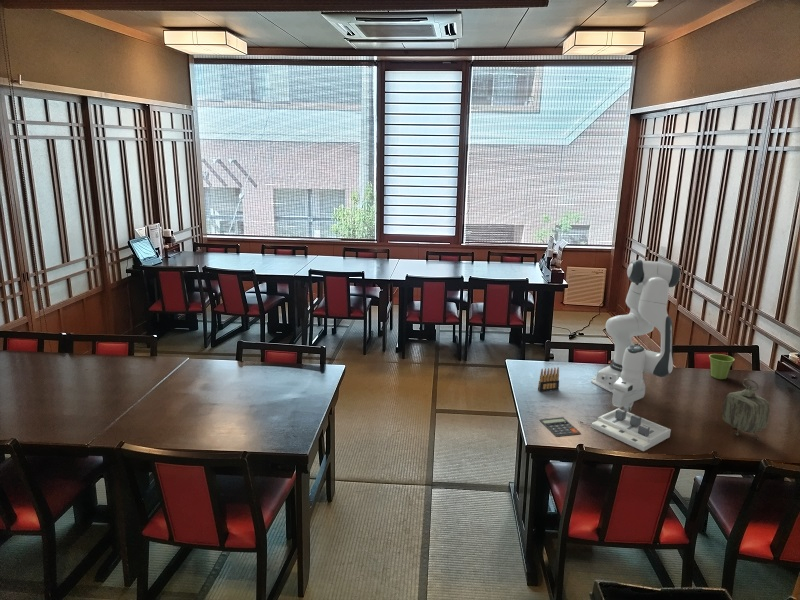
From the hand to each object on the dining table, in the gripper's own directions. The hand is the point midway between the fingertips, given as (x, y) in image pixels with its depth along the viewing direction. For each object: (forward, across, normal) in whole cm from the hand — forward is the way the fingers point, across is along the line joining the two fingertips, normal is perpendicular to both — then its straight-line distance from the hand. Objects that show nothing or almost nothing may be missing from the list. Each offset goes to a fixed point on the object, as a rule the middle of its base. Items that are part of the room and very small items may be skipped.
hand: (627, 411), depth 234 cm
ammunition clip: (+5, +2, -41) cm, 42 cm away
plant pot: (+5, -88, 0) cm, 88 cm away
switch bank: (+5, +8, +7) cm, 12 cm away
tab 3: (+2, +10, +14) cm, 17 cm away
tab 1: (+2, +5, 0) cm, 5 cm away
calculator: (+5, +29, -13) cm, 32 cm away
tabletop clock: (+5, -29, +35) cm, 45 cm away
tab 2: (+2, +4, +7) cm, 8 cm away
